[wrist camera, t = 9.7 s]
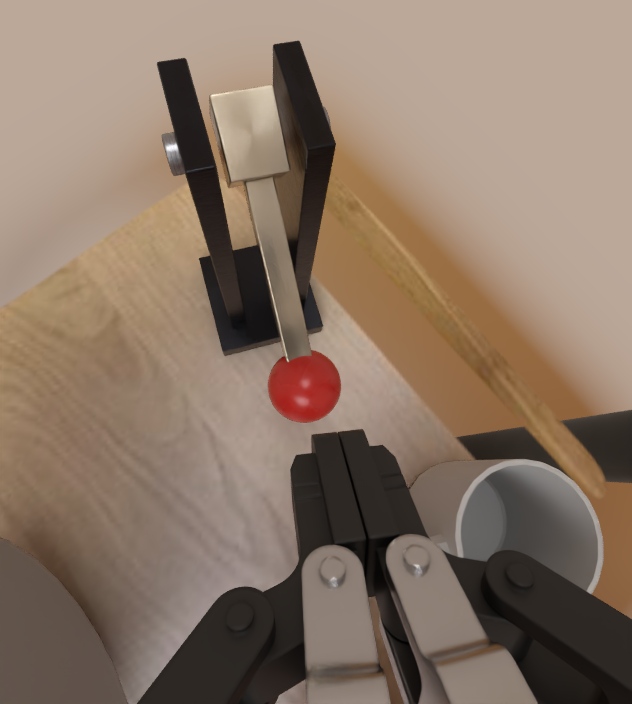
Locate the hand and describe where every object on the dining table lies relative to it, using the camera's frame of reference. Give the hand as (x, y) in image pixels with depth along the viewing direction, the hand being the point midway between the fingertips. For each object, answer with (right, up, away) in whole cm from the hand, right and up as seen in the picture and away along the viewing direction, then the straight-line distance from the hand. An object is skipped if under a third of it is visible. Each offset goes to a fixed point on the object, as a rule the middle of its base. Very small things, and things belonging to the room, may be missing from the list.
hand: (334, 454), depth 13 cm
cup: (+7, -8, +16) cm, 20 cm away
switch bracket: (-4, +7, +19) cm, 21 cm away
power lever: (-2, +6, +6) cm, 9 cm away
